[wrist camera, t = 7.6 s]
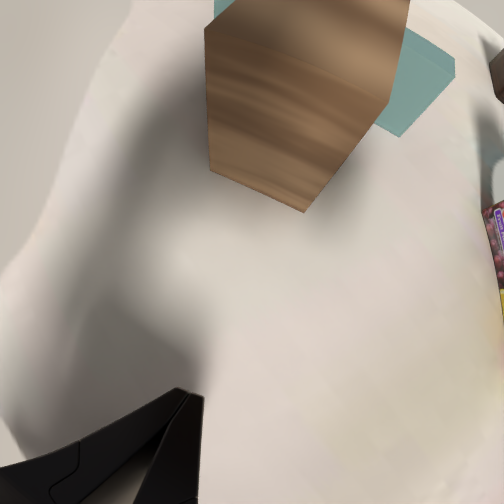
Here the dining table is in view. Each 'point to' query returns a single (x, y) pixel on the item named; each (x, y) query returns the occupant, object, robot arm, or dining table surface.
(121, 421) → the robot arm
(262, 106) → the walnut block
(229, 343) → the dining table surface
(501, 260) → the snack box
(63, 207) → the dining table surface
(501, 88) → the pepper mill
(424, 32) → the dining table surface
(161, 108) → the dining table surface
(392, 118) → the teal board
